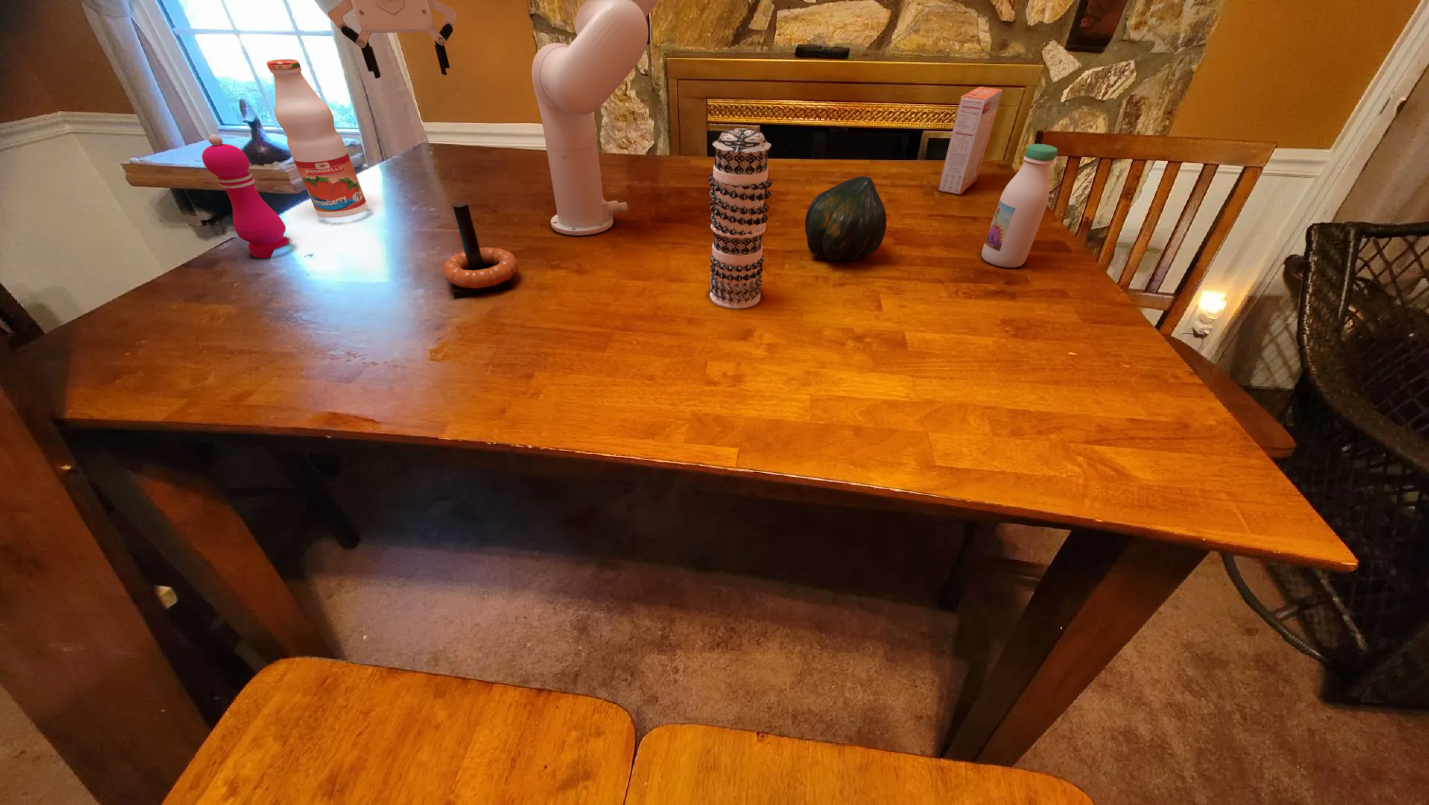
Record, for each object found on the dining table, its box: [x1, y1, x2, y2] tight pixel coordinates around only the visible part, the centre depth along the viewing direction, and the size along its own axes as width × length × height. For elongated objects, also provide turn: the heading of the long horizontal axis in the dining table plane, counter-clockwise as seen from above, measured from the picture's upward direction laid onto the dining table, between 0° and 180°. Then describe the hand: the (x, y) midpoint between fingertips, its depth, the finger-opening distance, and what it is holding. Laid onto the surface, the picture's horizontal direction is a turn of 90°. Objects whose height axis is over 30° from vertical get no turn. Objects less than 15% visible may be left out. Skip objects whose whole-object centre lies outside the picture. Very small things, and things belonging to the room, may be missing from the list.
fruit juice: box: [266, 58, 369, 219], centre depth 108 cm, size 9×9×28 cm
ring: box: [442, 246, 519, 288], centre depth 93 cm, size 12×12×3 cm
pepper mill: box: [201, 133, 290, 259], centre depth 96 cm, size 7×7×20 cm
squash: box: [804, 175, 888, 261], centre depth 101 cm, size 14×15×15 cm
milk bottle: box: [980, 143, 1059, 268], centre depth 98 cm, size 8×8×20 cm
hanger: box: [450, 201, 512, 299], centre depth 90 cm, size 9×9×13 cm
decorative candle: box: [708, 127, 773, 310], centre depth 84 cm, size 9×9×25 cm
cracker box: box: [937, 86, 1003, 196], centre depth 131 cm, size 14×6×21 cm, turn 144°
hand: (411, 75), depth 88 cm, fingers open, 9 cm apart
